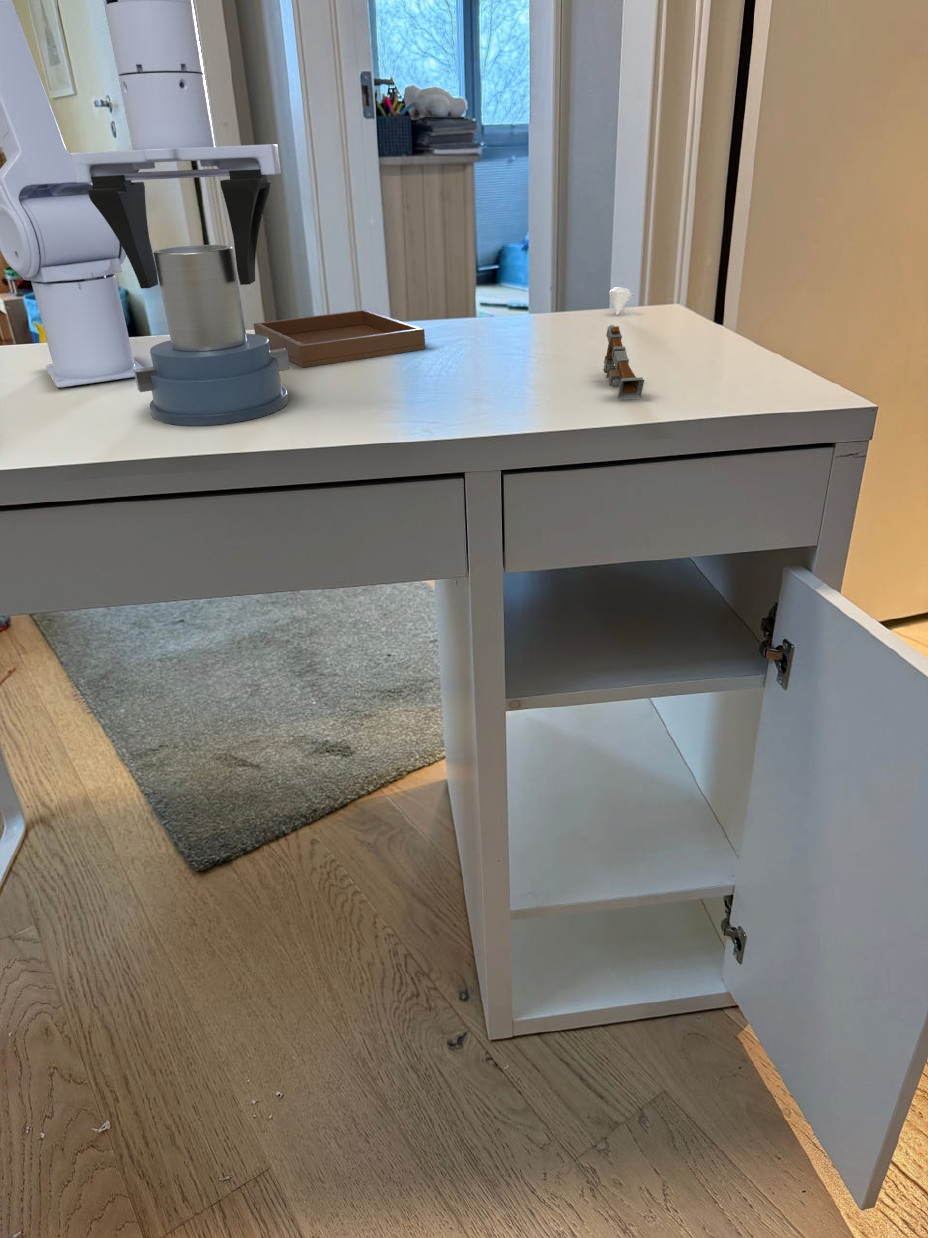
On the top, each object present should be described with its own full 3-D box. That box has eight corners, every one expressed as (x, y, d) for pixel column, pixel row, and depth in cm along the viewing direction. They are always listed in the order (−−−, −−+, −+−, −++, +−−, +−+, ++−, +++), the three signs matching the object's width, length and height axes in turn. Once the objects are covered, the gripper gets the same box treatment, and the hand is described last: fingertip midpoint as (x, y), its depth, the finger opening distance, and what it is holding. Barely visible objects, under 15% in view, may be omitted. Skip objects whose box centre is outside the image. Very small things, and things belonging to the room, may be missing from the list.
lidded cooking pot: (132, 404, 72) (118, 343, 70) (271, 382, 77) (263, 324, 75) (159, 435, 64) (144, 367, 62) (313, 409, 69) (306, 345, 66)
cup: (165, 342, 69) (146, 249, 66) (235, 333, 72) (221, 242, 68) (181, 355, 65) (162, 255, 61) (256, 345, 67) (241, 248, 64)
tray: (256, 342, 94) (253, 323, 93) (367, 327, 99) (365, 309, 98) (302, 367, 82) (299, 346, 81) (425, 349, 88) (424, 328, 87)
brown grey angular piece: (615, 362, 75) (623, 317, 71) (635, 423, 70) (645, 377, 66) (594, 364, 75) (601, 318, 71) (613, 424, 70) (622, 378, 66)
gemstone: (609, 314, 102) (615, 288, 101) (631, 318, 101) (637, 291, 100) (601, 311, 100) (607, 284, 99) (623, 314, 98) (629, 287, 98)
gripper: (32, 76, 56) (84, 296, 63) (251, 66, 56) (281, 288, 62) (77, 83, 62) (120, 282, 69) (274, 74, 62) (299, 275, 68)
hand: (198, 284), depth 66 cm, fingers open, 7 cm apart
